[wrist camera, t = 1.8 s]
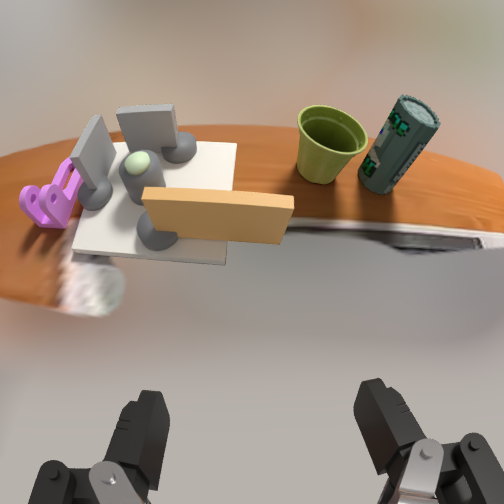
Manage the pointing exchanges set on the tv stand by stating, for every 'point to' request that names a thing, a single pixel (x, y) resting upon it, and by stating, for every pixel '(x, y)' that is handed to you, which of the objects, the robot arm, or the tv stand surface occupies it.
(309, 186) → the tv stand surface
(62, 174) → the bracket
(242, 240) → the tan upright panel
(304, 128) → the plant pot
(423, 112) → the can
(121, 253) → the plate
